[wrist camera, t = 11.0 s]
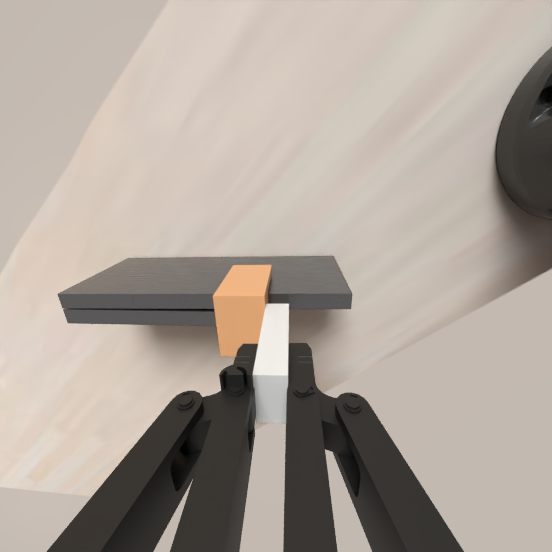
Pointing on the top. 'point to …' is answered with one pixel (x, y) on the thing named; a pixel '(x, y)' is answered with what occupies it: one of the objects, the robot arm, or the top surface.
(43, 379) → the top surface
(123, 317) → the tongs hinged arm
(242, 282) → the orange slotted clip
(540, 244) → the top surface
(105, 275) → the arm
